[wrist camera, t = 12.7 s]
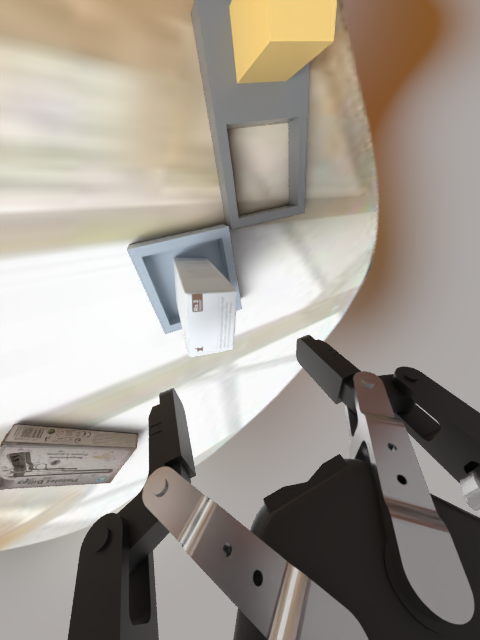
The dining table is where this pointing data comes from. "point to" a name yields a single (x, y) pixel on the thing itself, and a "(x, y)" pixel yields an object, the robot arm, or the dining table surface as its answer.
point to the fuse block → (260, 81)
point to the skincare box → (204, 306)
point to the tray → (159, 267)
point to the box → (61, 456)
